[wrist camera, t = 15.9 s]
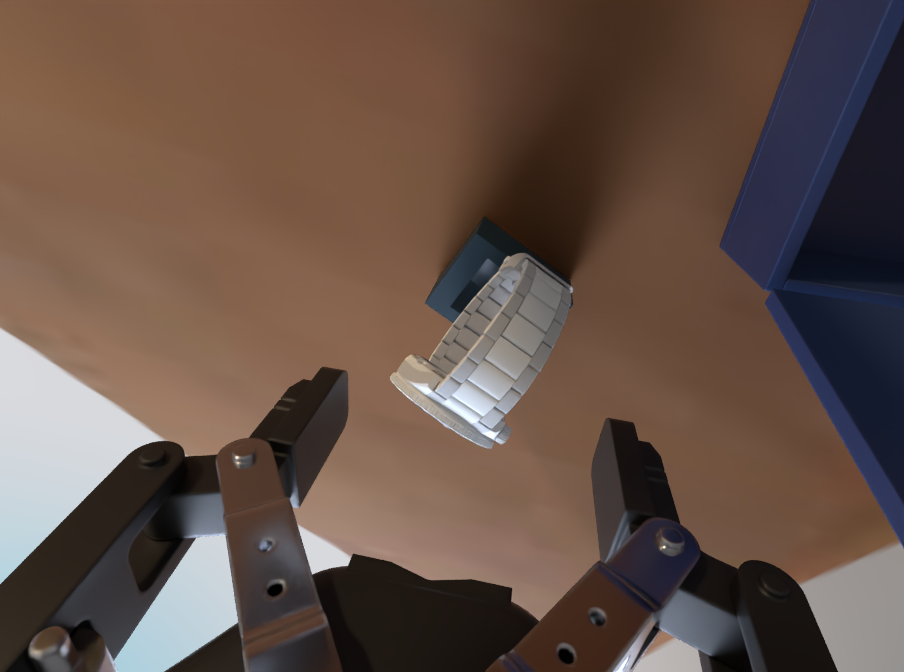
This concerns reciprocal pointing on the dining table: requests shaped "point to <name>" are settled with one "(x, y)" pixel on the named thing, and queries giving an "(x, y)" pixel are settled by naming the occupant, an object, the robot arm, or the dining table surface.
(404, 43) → the dining table surface
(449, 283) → the watch
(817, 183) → the case
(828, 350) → the lid
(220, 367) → the dining table surface
